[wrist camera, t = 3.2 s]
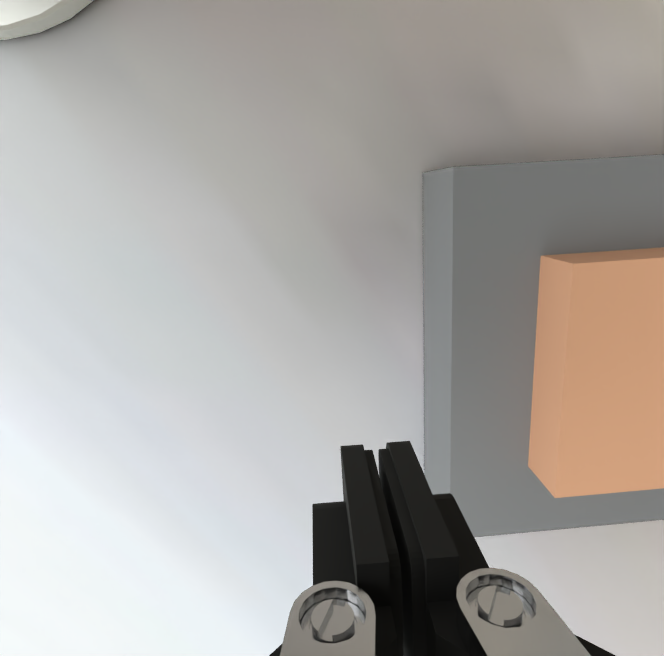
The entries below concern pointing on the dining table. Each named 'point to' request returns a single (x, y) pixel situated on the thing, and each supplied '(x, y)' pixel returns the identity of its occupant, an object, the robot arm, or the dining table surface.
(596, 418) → the tile
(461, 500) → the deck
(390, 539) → the robot arm
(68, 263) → the dining table surface
